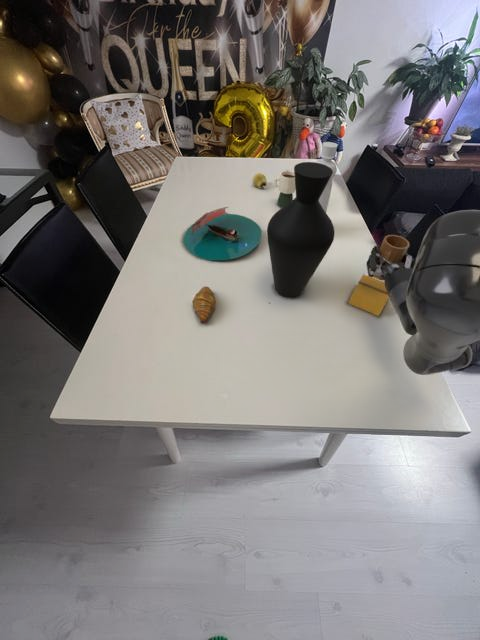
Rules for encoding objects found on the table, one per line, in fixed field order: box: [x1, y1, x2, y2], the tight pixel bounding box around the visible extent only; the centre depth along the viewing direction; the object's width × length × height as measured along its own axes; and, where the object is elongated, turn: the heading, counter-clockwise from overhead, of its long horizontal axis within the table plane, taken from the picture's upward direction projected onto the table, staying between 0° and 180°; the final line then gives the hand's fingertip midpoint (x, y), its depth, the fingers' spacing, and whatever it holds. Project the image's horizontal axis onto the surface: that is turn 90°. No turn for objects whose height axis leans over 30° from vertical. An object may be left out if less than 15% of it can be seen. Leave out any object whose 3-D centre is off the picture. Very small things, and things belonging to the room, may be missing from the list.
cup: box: [372, 234, 411, 281], centre depth 77 cm, size 6×6×10 cm
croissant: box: [191, 286, 217, 324], centre depth 83 cm, size 14×7×5 cm, turn 1°
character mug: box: [273, 170, 296, 209], centre depth 120 cm, size 11×7×13 cm, turn 81°
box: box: [348, 273, 390, 317], centre depth 87 cm, size 9×9×5 cm
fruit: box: [252, 172, 268, 190], centre depth 134 cm, size 6×6×10 cm
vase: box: [266, 161, 335, 299], centre depth 78 cm, size 17×17×35 cm
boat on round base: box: [182, 206, 263, 261], centre depth 104 cm, size 28×28×11 cm
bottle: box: [315, 141, 338, 213], centre depth 101 cm, size 9×9×30 cm
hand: (387, 249), depth 78 cm, fingers closed on cup, 6 cm apart
